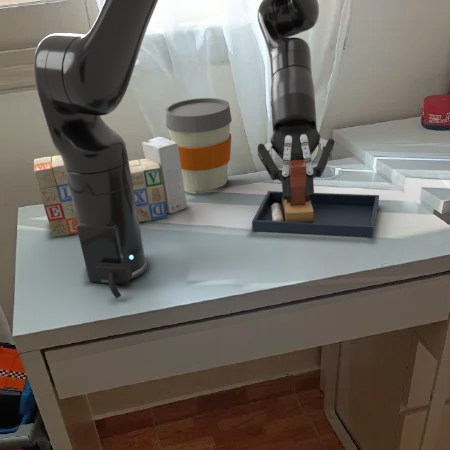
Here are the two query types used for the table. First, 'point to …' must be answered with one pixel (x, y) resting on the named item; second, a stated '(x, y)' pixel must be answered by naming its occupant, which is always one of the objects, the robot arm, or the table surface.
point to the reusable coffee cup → (201, 141)
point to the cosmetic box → (168, 171)
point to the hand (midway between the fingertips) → (298, 200)
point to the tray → (323, 215)
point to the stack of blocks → (62, 201)
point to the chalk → (276, 212)
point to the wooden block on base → (297, 195)
